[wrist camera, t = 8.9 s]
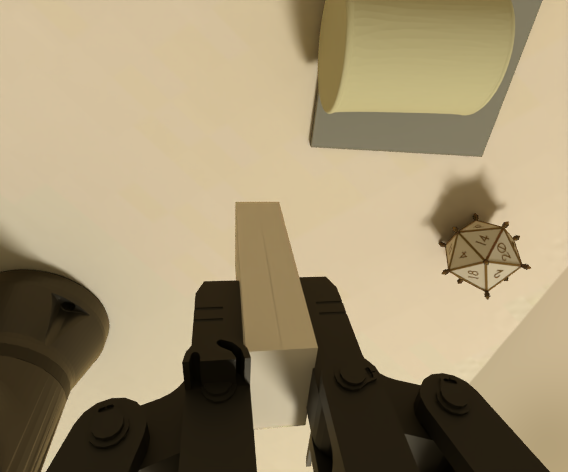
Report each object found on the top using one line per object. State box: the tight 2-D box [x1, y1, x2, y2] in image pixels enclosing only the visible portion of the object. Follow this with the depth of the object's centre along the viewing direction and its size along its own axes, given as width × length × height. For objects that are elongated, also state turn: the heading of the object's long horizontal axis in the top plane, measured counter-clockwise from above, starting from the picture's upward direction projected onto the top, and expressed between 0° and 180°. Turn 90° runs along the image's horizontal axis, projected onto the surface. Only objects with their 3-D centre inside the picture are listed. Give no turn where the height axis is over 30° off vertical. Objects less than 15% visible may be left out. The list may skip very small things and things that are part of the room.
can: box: [318, 0, 515, 115], centre depth 30 cm, size 9×9×12 cm
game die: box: [438, 214, 531, 300], centre depth 44 cm, size 9×8×10 cm
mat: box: [310, 0, 542, 157], centre depth 35 cm, size 18×18×1 cm
